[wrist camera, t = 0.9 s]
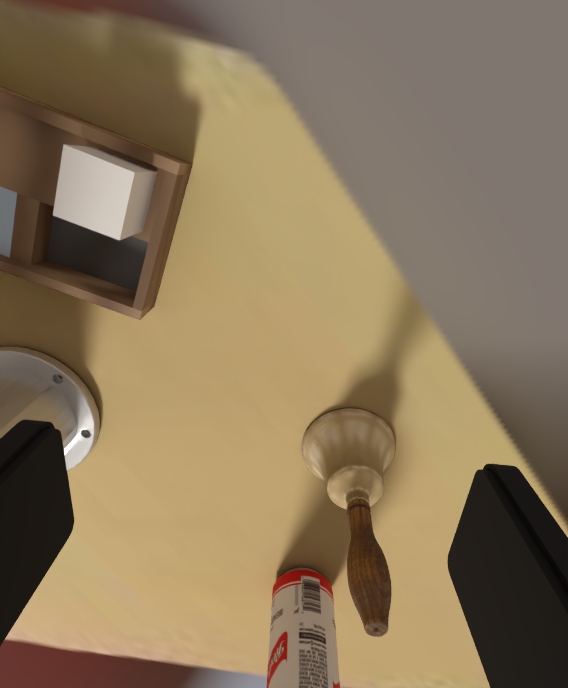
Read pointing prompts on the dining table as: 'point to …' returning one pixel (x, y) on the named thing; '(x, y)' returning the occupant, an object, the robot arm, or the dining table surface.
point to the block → (103, 191)
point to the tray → (71, 239)
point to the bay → (6, 219)
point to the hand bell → (356, 499)
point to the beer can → (302, 632)
